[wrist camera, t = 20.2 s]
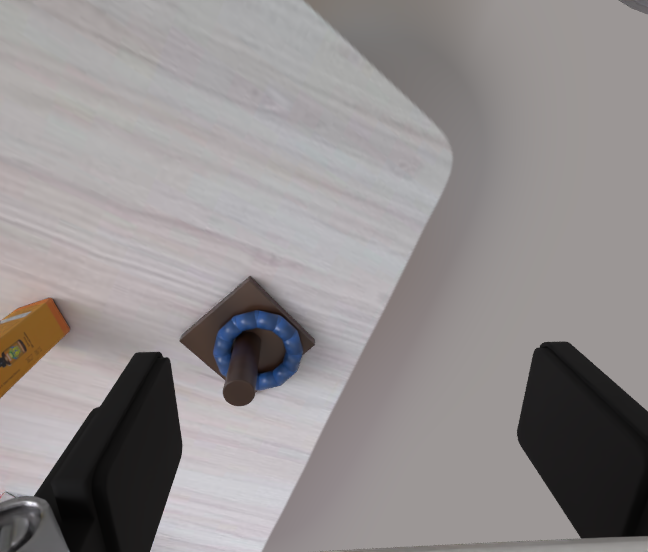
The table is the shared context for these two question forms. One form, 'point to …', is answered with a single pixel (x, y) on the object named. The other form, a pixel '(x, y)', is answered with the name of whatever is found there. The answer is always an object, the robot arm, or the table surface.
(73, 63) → the table surface
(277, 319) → the ring
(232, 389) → the peg
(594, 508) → the robot arm
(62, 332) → the supplement box
